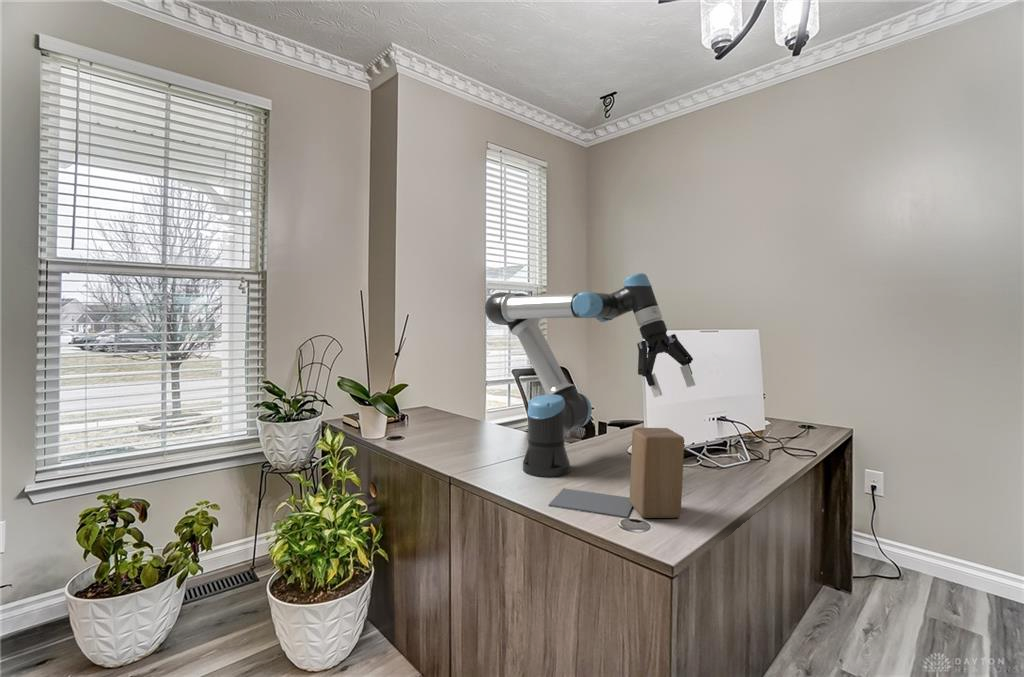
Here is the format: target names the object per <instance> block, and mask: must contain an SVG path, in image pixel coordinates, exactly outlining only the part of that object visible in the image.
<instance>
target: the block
mask: <svg viewBox="0 0 1024 677" xmlns="http://www.w3.org/2000/svg"><path fill="white" fill-rule="evenodd" d="M631 433H632V437H631V438H632V439H631V454H630V455H631V459H630V460H631V461H630V478H629V479H630V481H629V483H630V484H629V497H630V500H629V501H630V504H631V505H632V506H633V507H632V508H634V510H635V511H636V512H637V513H638V515H639V516H640V517H642V518H645V519H653V518H655V519H657V518H658V519H666V518H667V519H668V518H669V519H673V518H674V519H677V518H680V517H681V516H682V498H683V495H682V494H683V476H684V473H683V472H684V460H685V459H684V457H685V456H684V454H685V453H684V452H685V438H684V436H682V435H680V433H677V432H675V431H674V430H672V429H670V428H668V427H634V428H633V429H632V432H631Z"/></svg>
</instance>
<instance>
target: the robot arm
mask: <svg viewBox="0 0 1024 677" xmlns="http://www.w3.org/2000/svg"><path fill="white" fill-rule="evenodd" d="M622 284H623V287H622V288H620V289H619V290H616V291H614V292H612V293H603V292H593V291H583V292H579V293H578V292H576V293H575V292H574V293H572V292H571V293H558V294H557V293H556V294H554V293H552V294H551V293H550V294H537V295H530V294H526V293H522V292H519V293H518V292H517V293H514V292H503V291H502V292H496V293H493V294H492V295H490V296H489V297H488V298H487V300H486V302H485V305H484V311H485V315H486V317H487V319H488V320H489V321H490V322H491V323H493V324H495V325H501V326H507V327H508V329H509V331H510V334H511V335H512V336H516V337H517V338H518V339H519V342H520V344H521V346H522V348H523V350H524V352H525V354H526V356H527V357H528V360H529V362H530V364H531V367H532V368H533V370H534V373H535V374H536V376H537V378H538V380H539V382H540V384H541V386H542V388H543V390H544V392H545V394H541V395H536V396H535V397H532V398H531V399H530V400H529V402H528V403H527V404H528V405H527V406H528V407H527V440H528V441H527V444H528V445H527V448H526V451H525V454H524V458H523V459H522V460H523V461H522V471H523V472H524V473H526V474H528V475H530V476H535V477H536V476H537V477H543V476H544V477H547V478H550V477H559V476H564V475H567V474H568V473H570V471H571V462H570V459H569V456H568V453H567V450H566V446H565V433H568V432H570V431H573V430H578V429H580V428H582V427H584V426H585V425H587V423H589V421H590V419H591V415H592V410H593V409H592V404H591V402H590V400H589V397H587V396H586V395H585V394H582V393H579V391H578V389H577V388H576V386H575V384H573V383H569V381H568V380H567V378H566V376H565V374H564V372H563V370H562V368H561V366H560V364H559V362H558V361H557V359H556V357H555V355H554V353H553V351H552V348H551V347H550V344H549V343H548V341H547V339H546V338H545V337H546V336H544V333H543V331H542V330H541V328H540V326H539V325H540V322H541V319H591V318H592V319H593V318H594V319H596V320H597V321H599V322H600V323H605V322H606V323H607V322H608V321H612V320H614V319H615V318H618V317H620V316H623V315H625V314H626V313H627V314H628V313H630V312H632V313H633V315H634V318H635V321H636V324H637V326H638V327H639V332H640V334H641V338H642V339H643V340H641V341H640V342H637V343H636V345H637V350H638V357H637V358H638V361H637V374H638V375H639V376H642V377H645V379H646V382H647V386H648V387H650V389H651V392H652V396H653V398H657V397H661V396H663V392H662V389H661V386H660V384H659V382H658V378H657V376H656V373H653V370H654V366H655V363H656V358H657V355H658V354H662V353H664V354H667V355H668V356H670V357H671V358H673V360H675V362H677V363H678V364H679V365H681V366H679V369H680V372H681V374H682V377H683V379H684V382H685V385H686V388H691V387H694V386H696V382H695V378H694V377H693V371H692V369H691V365H690V364H692V362H693V360H694V358H693V357H692V355H691V354H690V353H689V352H688V350H687V349H686V348H685V346H684V345H682V343H681V342H680V340H679V338H678V337H677V335H676V333H673V334H671V335H668V334H667V332H668V328H667V325H666V323H665V320H663V315H662V312H661V309H660V307H659V304H658V302H657V299H656V296H655V293H654V289H653V286H652V284H651V283H650V281H649V278H648V276H647V274H646V273H643V272H640V273H639V272H638V273H636V274H632V275H629V276H628V277H626V278H625V279H623V281H622Z"/></svg>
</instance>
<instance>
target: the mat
mask: <svg viewBox="0 0 1024 677" xmlns="http://www.w3.org/2000/svg"><path fill="white" fill-rule="evenodd" d="M629 500H630V496H629V497H627V496H621V495H614V494H608V493H607V494H606V493H600V492H599V493H598V492H591V491H585V490H579V489H571V488H564V487H563V488H562V489H561V490H560V491H559V493H558V494H557V495H555V497H554V498H553V499H552V500H551V501H550V503H549V504H548V507H552V506H555V507H554V508H559V507H561V508H560V509H565V508H566V509H567V510H571V509H574V510H573V511H578V510H580V511H579V512H584V511H587V512H586V513H591V512H593V513H592V514H599V515H603V516H611V517H615V518H616V517H617V518H623V519H629V518H628V517H629V515H630V513H631V511H632V509H633V508H634V507H633V506H632V505H631V504H630V501H629Z"/></svg>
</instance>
